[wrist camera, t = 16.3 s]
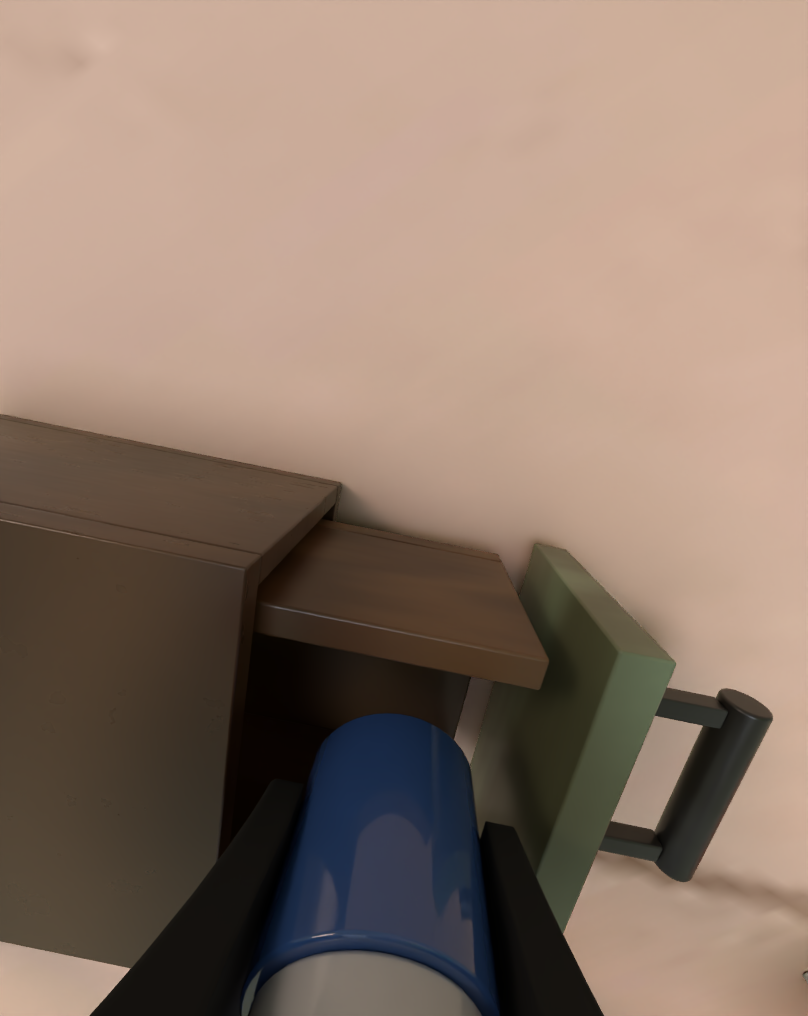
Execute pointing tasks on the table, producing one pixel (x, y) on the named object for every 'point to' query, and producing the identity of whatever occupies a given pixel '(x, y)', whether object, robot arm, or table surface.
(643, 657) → the drawer
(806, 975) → the lollipop
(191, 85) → the table surface
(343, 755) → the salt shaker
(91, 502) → the cabinet
